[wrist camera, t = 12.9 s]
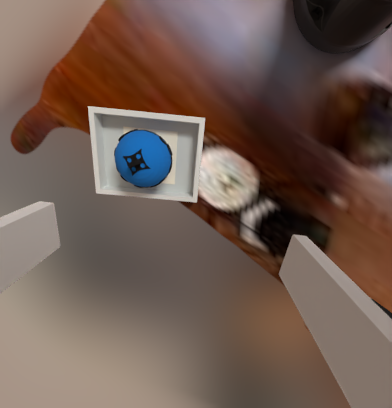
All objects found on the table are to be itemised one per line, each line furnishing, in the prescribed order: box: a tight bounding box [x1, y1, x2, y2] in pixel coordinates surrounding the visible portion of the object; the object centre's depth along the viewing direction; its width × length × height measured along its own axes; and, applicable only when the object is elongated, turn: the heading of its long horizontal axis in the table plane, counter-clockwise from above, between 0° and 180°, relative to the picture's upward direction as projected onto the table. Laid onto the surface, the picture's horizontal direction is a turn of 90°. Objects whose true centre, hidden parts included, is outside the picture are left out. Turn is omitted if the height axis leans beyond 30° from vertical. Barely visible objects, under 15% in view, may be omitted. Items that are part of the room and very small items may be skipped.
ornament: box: [114, 129, 173, 188], centre depth 28 cm, size 9×9×10 cm
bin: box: [88, 106, 205, 203], centre depth 32 cm, size 14×18×3 cm
